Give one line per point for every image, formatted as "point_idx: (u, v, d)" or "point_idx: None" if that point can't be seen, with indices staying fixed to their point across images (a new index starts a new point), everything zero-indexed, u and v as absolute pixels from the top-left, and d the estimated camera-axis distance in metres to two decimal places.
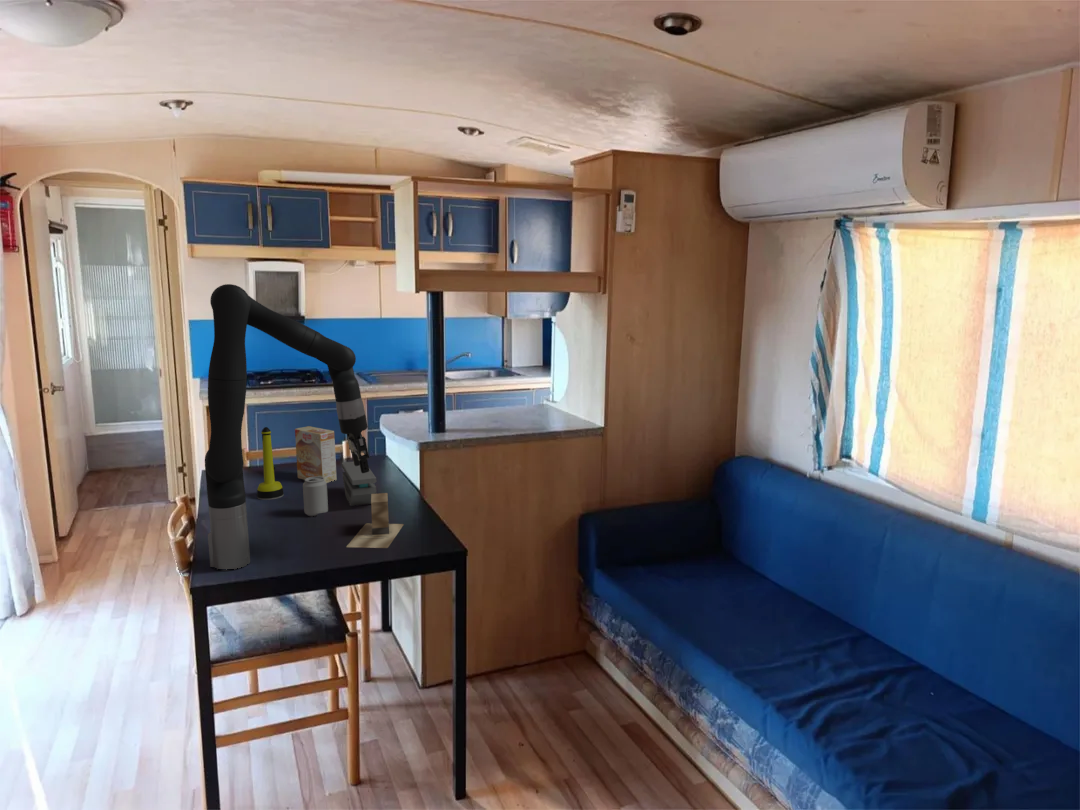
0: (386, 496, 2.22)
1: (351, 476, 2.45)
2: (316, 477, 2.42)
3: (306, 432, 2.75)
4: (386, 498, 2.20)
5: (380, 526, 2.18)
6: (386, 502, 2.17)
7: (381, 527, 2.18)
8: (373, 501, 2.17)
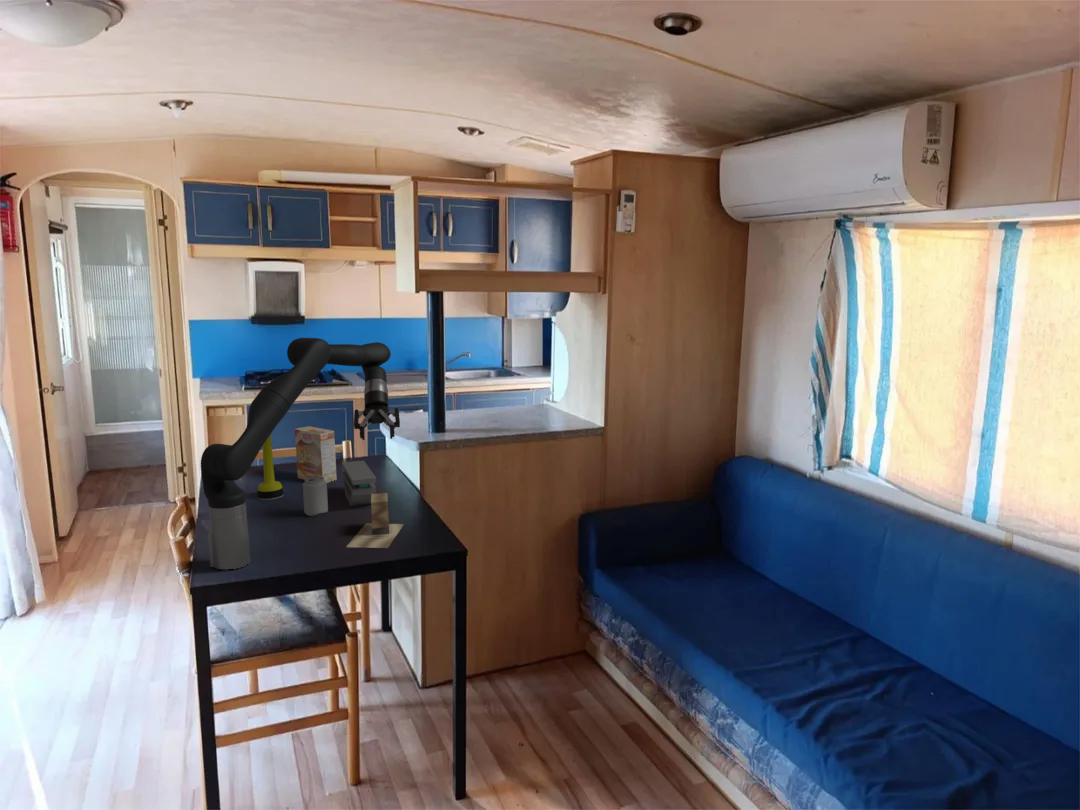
0: (386, 496, 2.22)
1: (351, 476, 2.45)
2: (316, 477, 2.42)
3: (306, 432, 2.75)
4: (386, 498, 2.20)
5: (380, 526, 2.18)
6: (386, 502, 2.17)
7: (381, 527, 2.18)
8: (373, 501, 2.17)
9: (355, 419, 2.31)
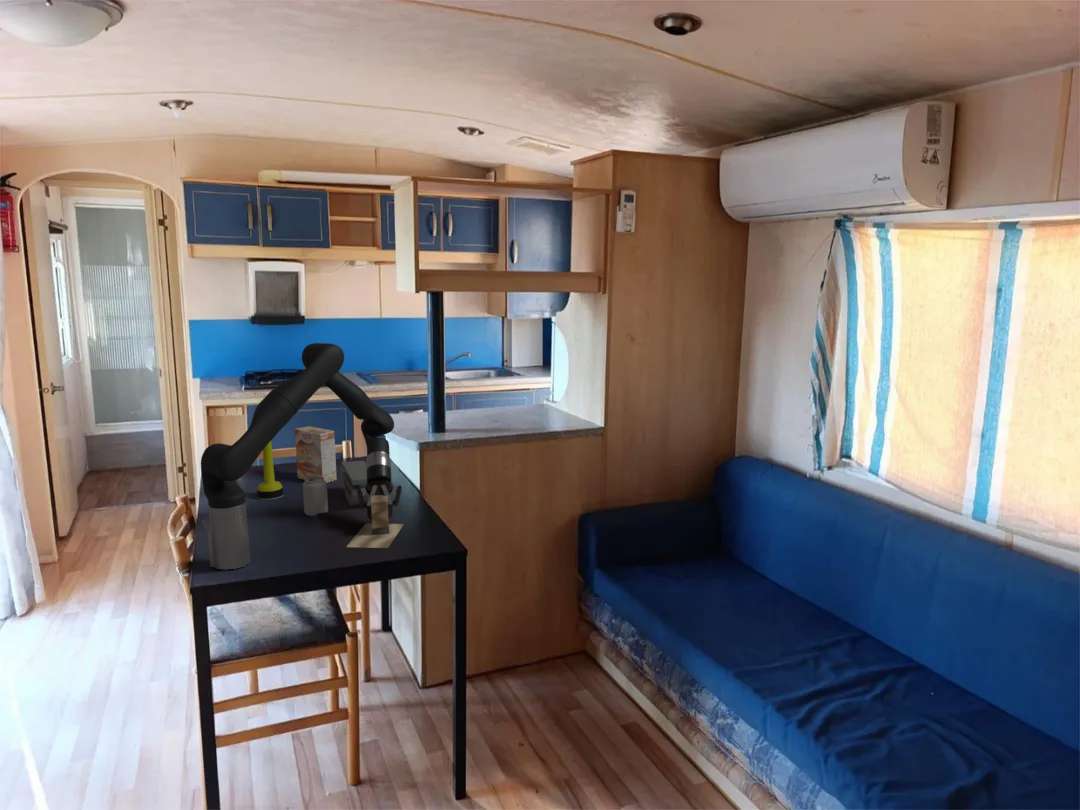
0: (386, 496, 2.22)
1: (351, 476, 2.45)
2: (316, 477, 2.42)
3: (306, 432, 2.75)
4: (386, 498, 2.20)
5: (380, 526, 2.18)
6: (386, 502, 2.17)
7: (381, 527, 2.18)
8: (373, 501, 2.17)
9: (361, 498, 2.22)
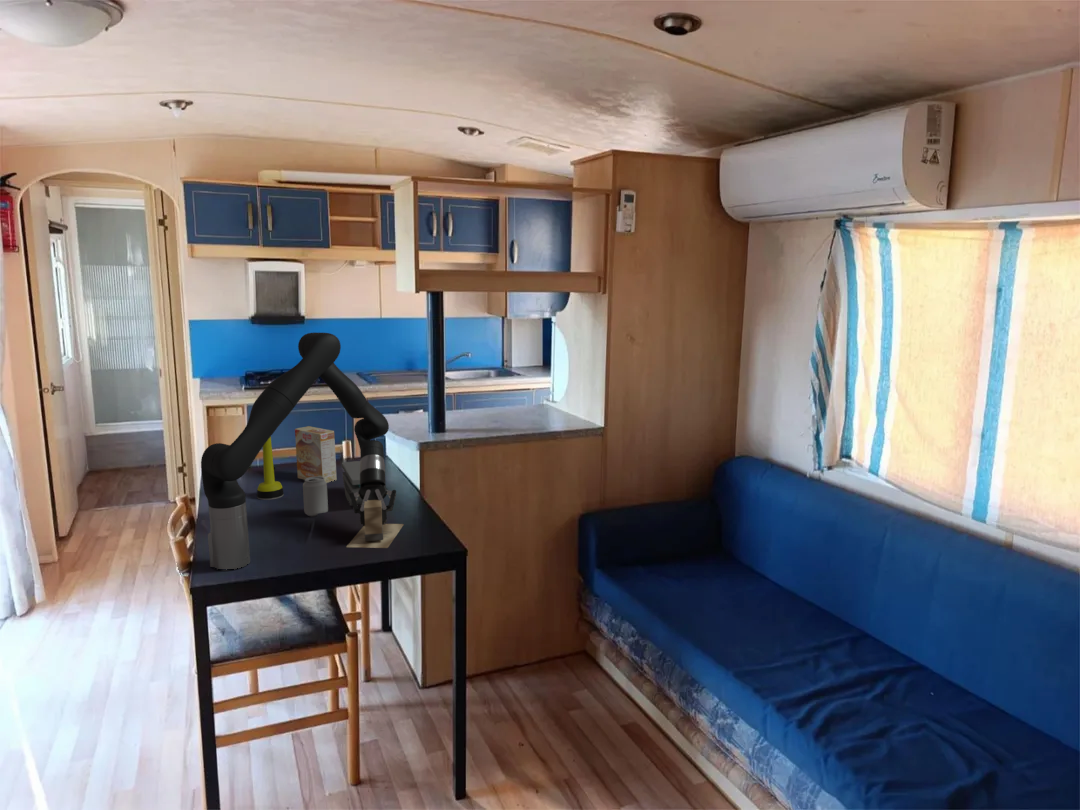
0: (380, 501, 2.15)
1: (351, 476, 2.45)
2: (316, 477, 2.42)
3: (306, 432, 2.75)
4: (380, 503, 2.13)
5: (373, 532, 2.11)
6: (380, 507, 2.10)
7: (374, 533, 2.11)
8: (367, 507, 2.10)
9: (354, 503, 2.15)
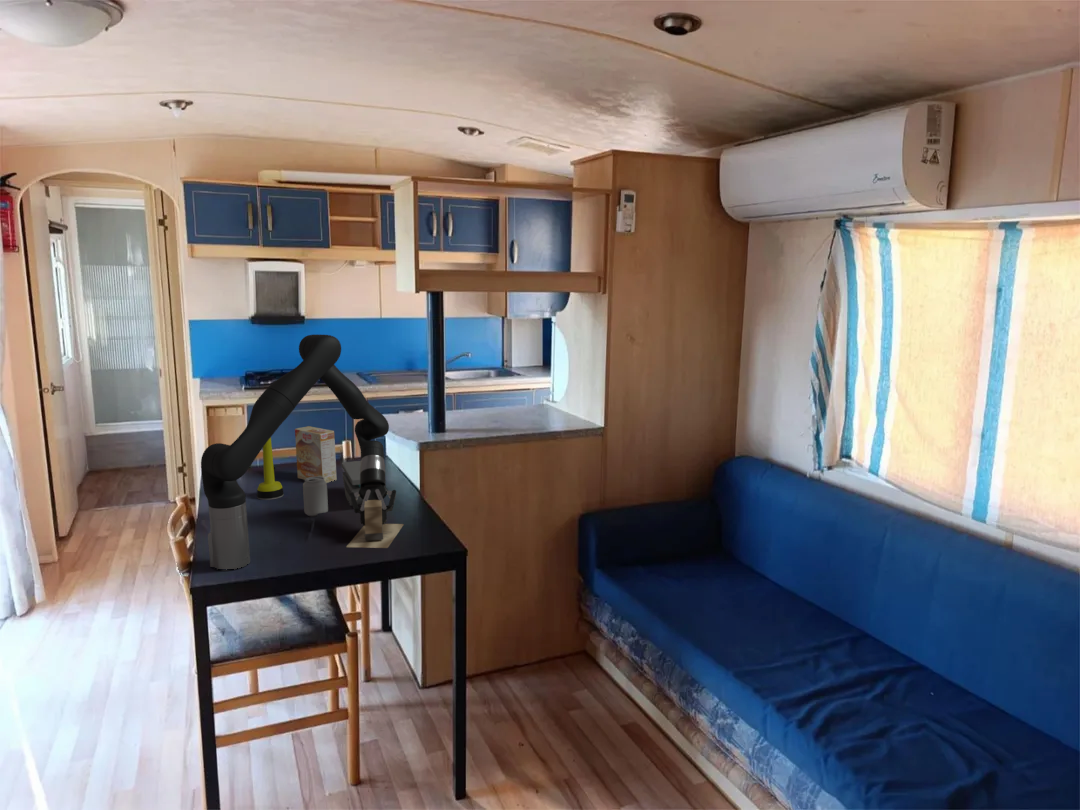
0: (380, 501, 2.16)
1: (351, 476, 2.45)
2: (316, 477, 2.42)
3: (306, 432, 2.75)
4: (380, 503, 2.14)
5: (373, 532, 2.12)
6: (380, 507, 2.11)
7: (375, 533, 2.12)
8: (367, 506, 2.11)
9: (354, 503, 2.16)
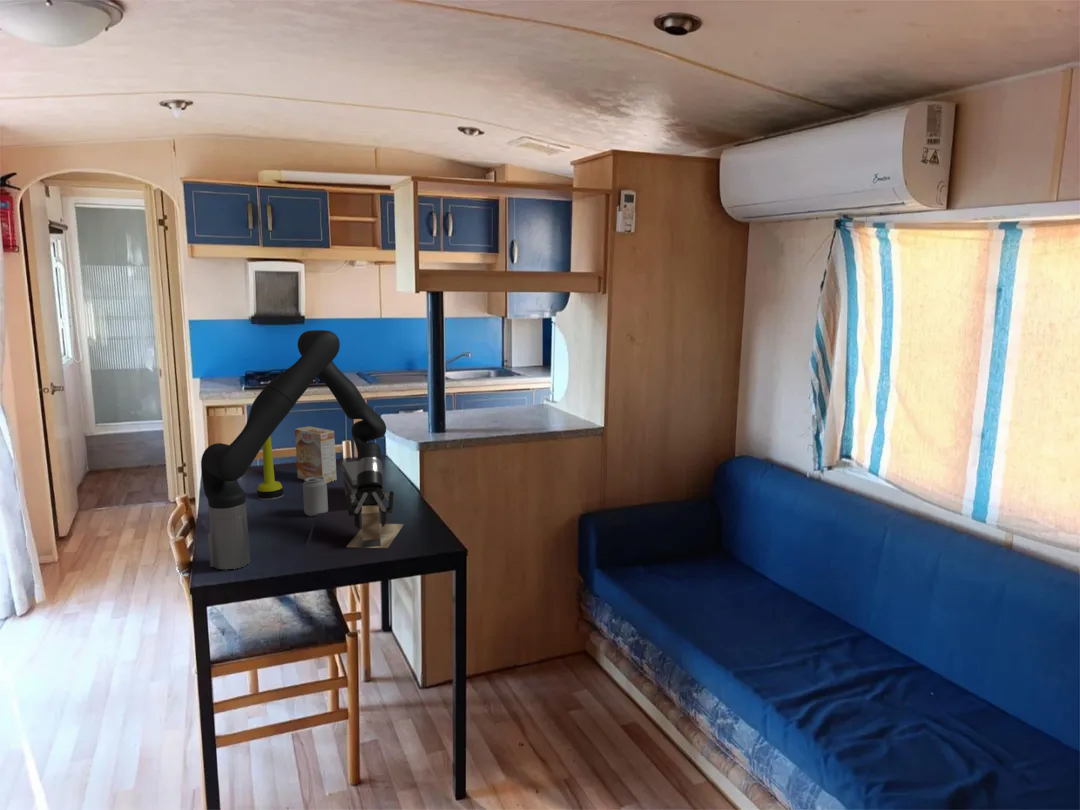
0: (377, 506, 2.12)
1: (351, 476, 2.45)
2: (316, 477, 2.42)
3: (306, 432, 2.75)
4: (377, 509, 2.10)
5: (371, 538, 2.08)
6: (377, 513, 2.08)
7: (372, 539, 2.08)
8: (364, 512, 2.07)
9: (349, 505, 2.12)
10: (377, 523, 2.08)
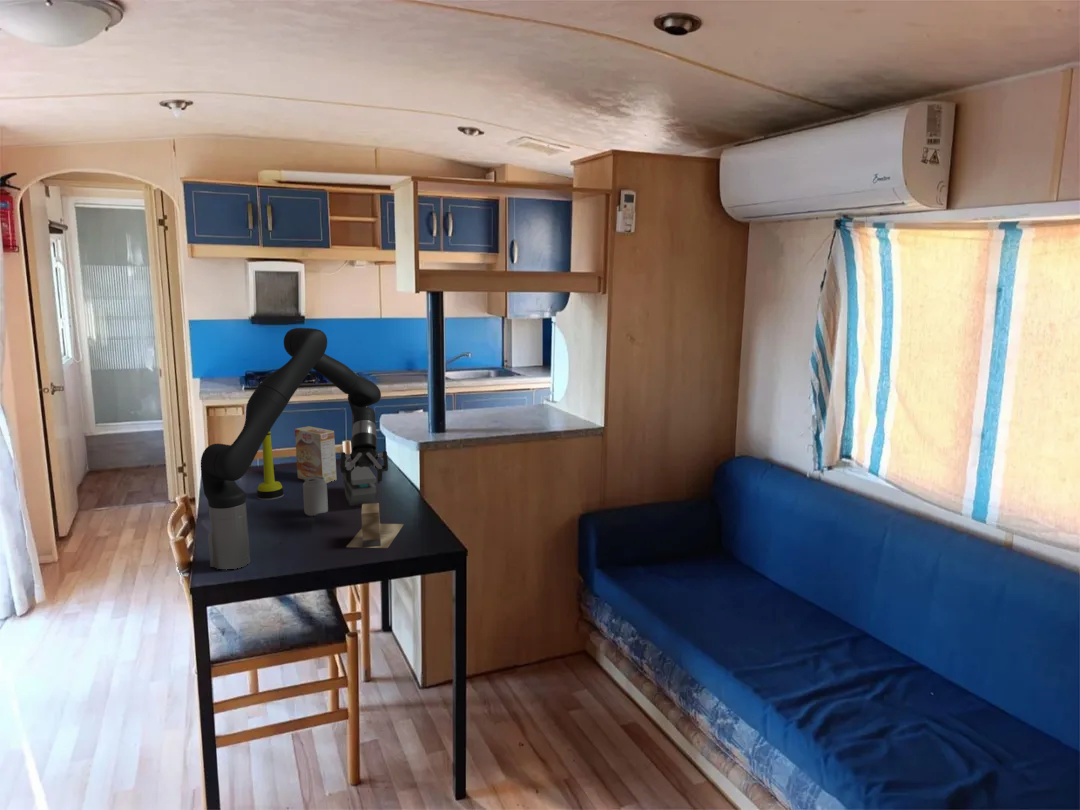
0: (377, 506, 2.12)
1: (351, 476, 2.45)
2: (316, 477, 2.42)
3: (306, 432, 2.75)
4: (377, 509, 2.10)
5: (371, 538, 2.08)
6: (377, 513, 2.08)
7: (372, 539, 2.08)
8: (364, 512, 2.07)
9: (342, 462, 2.24)
10: (377, 523, 2.08)
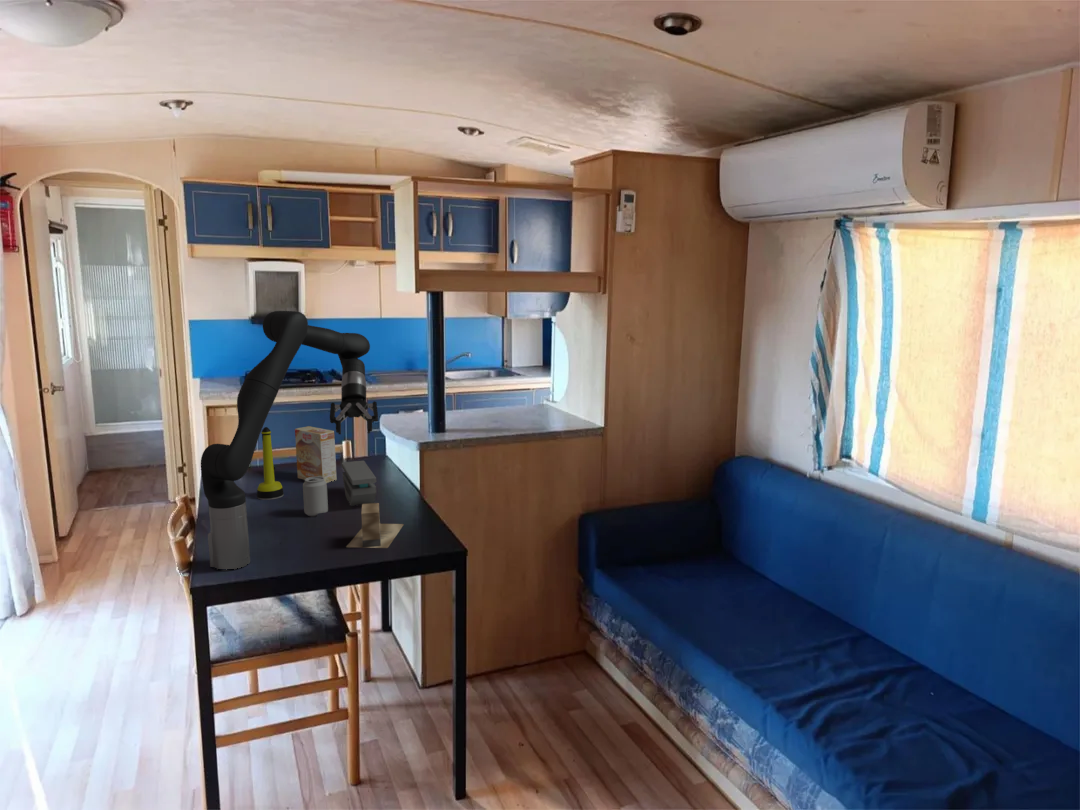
0: (377, 506, 2.12)
1: (351, 476, 2.45)
2: (316, 477, 2.42)
3: (306, 432, 2.75)
4: (377, 509, 2.10)
5: (371, 538, 2.08)
6: (377, 513, 2.08)
7: (372, 539, 2.08)
8: (364, 512, 2.07)
9: (331, 413, 2.22)
10: (377, 523, 2.08)
